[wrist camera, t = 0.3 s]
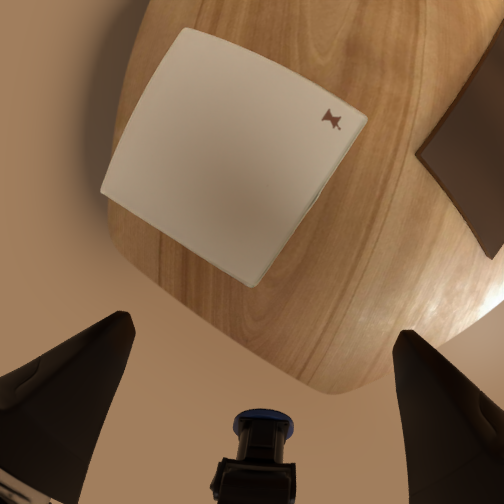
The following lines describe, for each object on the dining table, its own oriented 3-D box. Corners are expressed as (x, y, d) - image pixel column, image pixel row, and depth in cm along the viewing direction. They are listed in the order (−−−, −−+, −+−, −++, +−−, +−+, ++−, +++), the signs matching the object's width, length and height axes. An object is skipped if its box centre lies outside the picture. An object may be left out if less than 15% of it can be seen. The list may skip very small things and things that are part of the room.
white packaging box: (240, 89, 18) (185, 17, 6) (323, 139, 19) (379, 119, 7) (192, 168, 21) (92, 192, 9) (271, 216, 22) (255, 296, 10)
